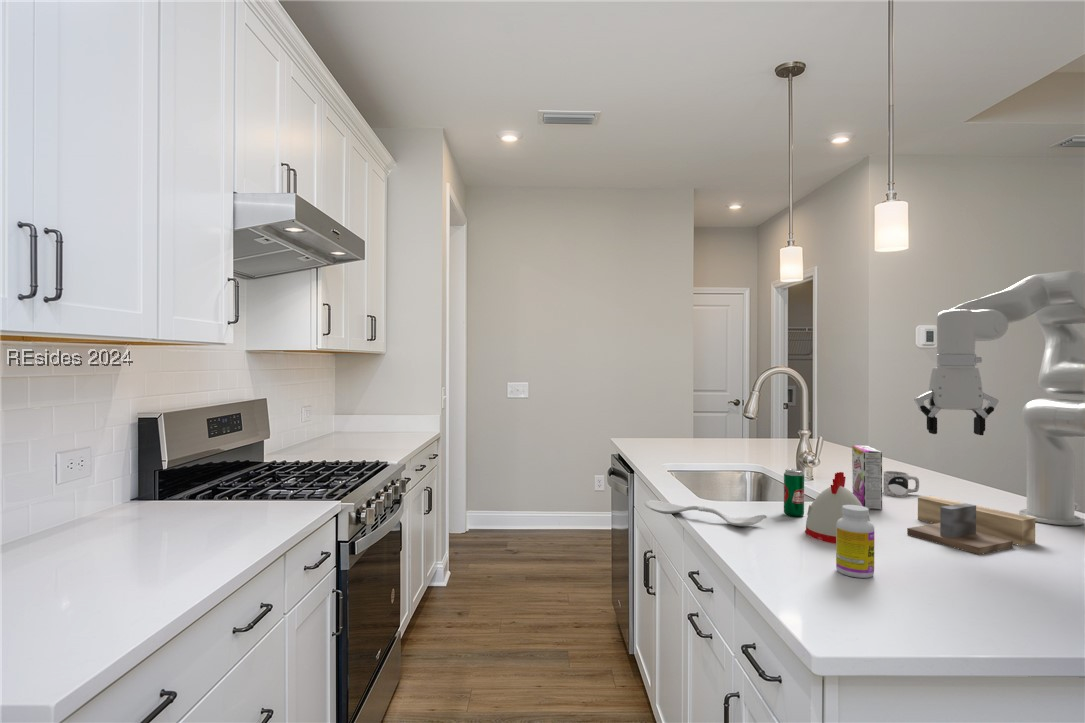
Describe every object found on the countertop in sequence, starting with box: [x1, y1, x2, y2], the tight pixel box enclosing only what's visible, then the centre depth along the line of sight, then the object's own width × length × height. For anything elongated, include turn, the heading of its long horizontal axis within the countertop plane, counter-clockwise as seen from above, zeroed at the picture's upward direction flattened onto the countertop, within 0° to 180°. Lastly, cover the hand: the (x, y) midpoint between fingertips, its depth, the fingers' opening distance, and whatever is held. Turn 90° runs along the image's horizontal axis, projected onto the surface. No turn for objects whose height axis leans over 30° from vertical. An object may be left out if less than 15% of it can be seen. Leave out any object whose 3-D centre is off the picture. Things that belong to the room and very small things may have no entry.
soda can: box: [783, 468, 805, 518], centre depth 159 cm, size 5×5×12 cm
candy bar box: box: [851, 444, 883, 510], centre depth 170 cm, size 11×5×16 cm, turn 168°
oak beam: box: [917, 495, 1036, 547], centre depth 145 cm, size 5×24×6 cm, turn 23°
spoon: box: [644, 499, 768, 527], centre depth 156 cm, size 9×32×4 cm, turn 49°
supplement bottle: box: [835, 505, 875, 579], centre depth 116 cm, size 7×7×13 cm
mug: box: [882, 470, 920, 497], centre depth 184 cm, size 10×7×7 cm, turn 81°
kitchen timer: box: [805, 471, 871, 544], centre depth 141 cm, size 14×14×15 cm
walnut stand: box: [906, 502, 1014, 555], centre depth 137 cm, size 12×16×8 cm
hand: (955, 433), depth 141 cm, fingers open, 9 cm apart
